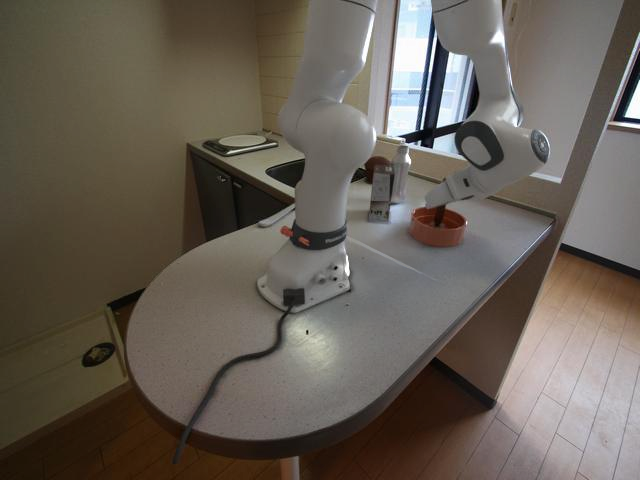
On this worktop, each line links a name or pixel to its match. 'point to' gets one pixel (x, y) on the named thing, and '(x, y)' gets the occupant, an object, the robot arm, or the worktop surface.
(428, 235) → the bowl
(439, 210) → the stirring stick
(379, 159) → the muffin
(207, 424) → the worktop surface
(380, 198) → the coffee box
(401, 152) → the plastic bottle
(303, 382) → the worktop surface
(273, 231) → the worktop surface
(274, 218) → the spoon
